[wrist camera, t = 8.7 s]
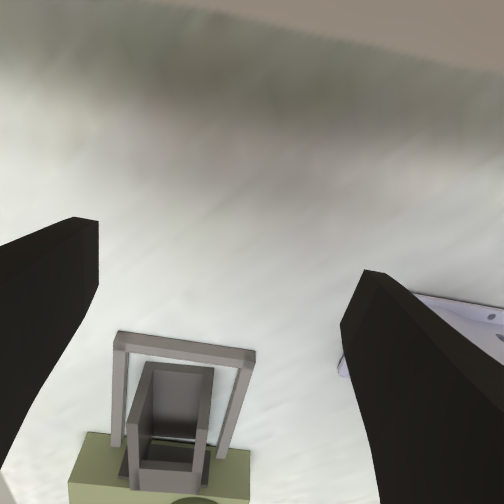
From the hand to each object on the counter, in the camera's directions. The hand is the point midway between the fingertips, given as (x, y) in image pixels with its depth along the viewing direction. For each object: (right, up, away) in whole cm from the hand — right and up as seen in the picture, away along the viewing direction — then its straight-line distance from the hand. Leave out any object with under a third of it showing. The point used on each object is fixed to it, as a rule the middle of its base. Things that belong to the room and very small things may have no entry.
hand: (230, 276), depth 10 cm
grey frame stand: (-6, -13, +20) cm, 24 cm away
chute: (-5, -11, +19) cm, 22 cm away
